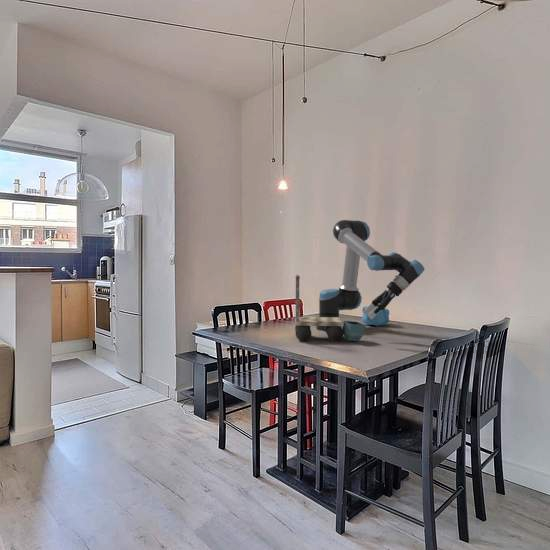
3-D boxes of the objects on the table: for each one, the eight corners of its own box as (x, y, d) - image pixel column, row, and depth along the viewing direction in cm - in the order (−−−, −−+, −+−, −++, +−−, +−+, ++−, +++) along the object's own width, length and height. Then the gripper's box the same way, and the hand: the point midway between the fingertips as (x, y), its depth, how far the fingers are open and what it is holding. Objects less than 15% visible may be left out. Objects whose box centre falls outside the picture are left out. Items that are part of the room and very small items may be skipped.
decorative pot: (362, 327, 245) (362, 304, 245) (361, 322, 261) (361, 302, 260) (390, 327, 242) (390, 305, 242) (387, 323, 258) (387, 302, 258)
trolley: (339, 335, 216) (340, 274, 215) (343, 341, 200) (344, 276, 199) (295, 335, 217) (295, 274, 215) (295, 341, 201) (295, 275, 200)
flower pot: (339, 337, 204) (342, 320, 204) (354, 338, 207) (357, 321, 207) (348, 342, 196) (350, 324, 195) (363, 342, 199) (366, 325, 198)
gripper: (386, 279, 212) (357, 307, 213) (398, 282, 187) (365, 313, 188) (396, 289, 212) (367, 317, 213) (410, 293, 187) (377, 324, 188)
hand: (366, 315), depth 201 cm, fingers open, 13 cm apart
